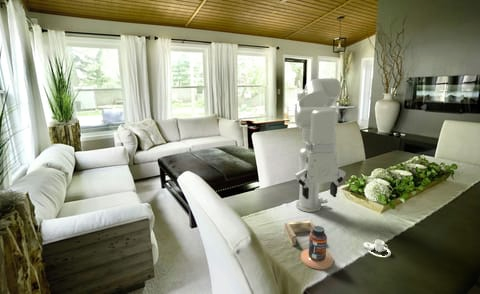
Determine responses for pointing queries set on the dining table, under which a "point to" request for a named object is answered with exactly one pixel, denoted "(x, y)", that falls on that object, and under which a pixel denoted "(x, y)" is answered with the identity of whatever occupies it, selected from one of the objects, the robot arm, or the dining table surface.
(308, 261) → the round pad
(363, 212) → the dining table surface
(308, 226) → the wooden u-shaped frame
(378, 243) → the white headphones
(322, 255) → the supplement bottle
